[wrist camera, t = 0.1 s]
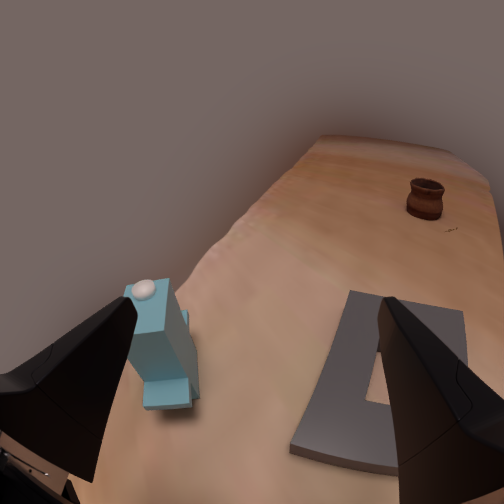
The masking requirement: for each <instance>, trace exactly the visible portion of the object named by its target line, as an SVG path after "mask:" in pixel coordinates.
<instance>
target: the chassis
mask: <svg viewBox="0 0 504 504" xmlns="http://www.w3.org/2000/svg"><path fill="white" fill-rule="evenodd" d="M383 298H384V297H383V296H378V295H372V294H367V293H362V292H357V291H352V290H350V292H349V295H348V298H347V302H346V305H345V308H344V311H343V314H342V317H341V320H340V323H339V326H338V329H337V332H336V335H335V338H334V341H333V344H332V346H331V349H330V352H329V355H328V357H327V360H326V363H325V365H324V368H323V370H322V373H321V375H320V378H319V380H318V383H317V385H316V388H315V390H314V392H313V395H312V397H311V399H310V402H309V404H308V406H307V408H306V411H305V413H304V415H303V417H302V419H301V422H300V424H299V426H298V428H297V430H296V432H295V434H294V436H293V438H292V440H291V442H290V452H289V453H292V454H295V455H298V456H302V457H305V458H309V459H312V460H316V461H319V462H323V463H327V464H331V465H335V466H339V467H344V468H349V469H354V470H359V471H364V472H370V473H376V474H383V475H391V476H398V462H397V451H396V442H395V434H394V426H393V419H392V412H391V406H390V405H386V404H381V403H376V402H371V401H366V400H365V397H366V393H367V389H368V386H369V382H370V378H371V374H372V370H373V365H374V361H375V356H376V352H377V351H378V352H381V347H380V338H379V330H378V322H377V316H378V312H379V308H380V304H381V301H382V299H383ZM399 301H400V302H401V303H402V304H403V305H404V306H405V307H406V308H408V309H409V310H410V311H411V312H412V313H413V314H414V315H415V316H416V317H417V318H418V319H419V320H421V321H422V322H423V323H424V324H425V325H426V326H427V327H428V328H429V329H430V330H431V331H432V332H433V333H434V334H435V335H436V336H437V337H438V338H439V339H440V340H441V341H442V342H444V343H445V344H446V345H447V346H448V347H449V348H450V349H451V350H452V351H453V352H454V353H455V354H456V355H457V356H458V358H459V359H461V360H462V361H463V362H464V363H465V365H466V366H467V367H468V359H467V344H466V333H465V324H464V317H463V311H459V310H453V309H448V308H442V307H437V306H431V305H425V304H420V303H415V302H409V301H404V300H399Z"/></svg>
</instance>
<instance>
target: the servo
mask: <svg viewBox="0 0 504 504" xmlns="http://www.w3.org/2000/svg"><path fill="white" fill-rule="evenodd" d="M124 297H130V298H131V300H132V302H133V304H134V306H135V308H136V310H137V313H138V320H137V323H136V327H135V331H134V335H133V339H132V343H131V347H130V351H129V354H128V357H127V359H128V360H129V361H130V363H131V364H132V366H133V367H134V368H135V370H136V371H137V373H138V374H139V375H140V377H141V378H142V379H143V381H144V395H143V407H144V408H145V409H146V410H165V409H179V408H189V407H192V399H198V398H200V394H199V380H198V365H197V350H196V348H195V345H194V343H193V340H192V338H191V335H190V333H189V313H188V311H187V310H183V311H181V310H180V307H179V304H178V301H177V299H176V296H175V293H174V290H173V288H172V285H171V282H170V279H169V278H166V279H161V280H156V281H152V280H142V281H139V282H137V283H136V284H132V285H127V287H126V290H125V293H124Z"/></svg>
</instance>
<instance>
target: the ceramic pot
mask: <svg viewBox="0 0 504 504" xmlns="http://www.w3.org/2000/svg"><path fill="white" fill-rule="evenodd" d="M410 185H411V189H412V190H411V193H410V194H409V196H408V198H407V211H408V213H409V214H411V215H412V216H414V217H417V218H420V219H424V220H436V219H438V218H439V216H440V215H441V214H442V210H443V202H442V195H443V194H444V192H445V189H444V187H443V186H442V185H441V183H439V182H437V181H434V180H431V179H426V178H415V179H413V180H411V182H410ZM456 229H457V228H456ZM456 229H453V230H456ZM450 231H452V230H451V229H450ZM450 231H449V230H448V231H446V232H450Z"/></svg>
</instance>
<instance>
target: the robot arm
mask: <svg viewBox="0 0 504 504" xmlns="http://www.w3.org/2000/svg"><path fill="white" fill-rule="evenodd" d="M137 320H138V313H137V310H136V308H135V306H134V304H133V302H132V300H131V298H130V297H123V296H121V297H119V298H117V299H116V300H114V301H113V302H111V303H110V304H108V305H107V306H105V307H104V308H102V309H101V310H99V311H98V312H97V313H95V314H94V315H92V316H91V317H89V318H88V319H86V320H85V321H84V322H82V323H81V324H79V325H78V326H76V327H75V328H74V329H72V330H71V331H69V332H68V333H66V334H65V335H64V336H62V337H61V338H59V339H58V340H57V341H55V342H54V343H53V344H51V345H50V346H48V347H47V348H45V349H44V350H43V351H41V352H40V353H38V354H37V355H36V356H34V357H32V358H31V359H29V360H28V361H26V362H24V363H23V364H21V365H20V366H18V367H16V368H15V369H14V370H12V371H10V372H8V373H6V374H0V504H80V501H79V499H78V497H77V495H76V492H75V490H74V487H73V485H72V482H71V480H69V479H67V478H68V475H69V473H70V474H73V475H75V476H77V477H79V478H81V479H83V480H85V481H88V482H90V483H92V482H93V479H94V474H95V469H96V465H97V460H98V456H99V452H100V448H101V444H102V439H103V435H104V432H105V428H106V424H107V421H108V417H109V414H110V410H111V407H112V403H113V400H114V397H115V393H116V390H117V387H118V384H119V381H120V378H121V375H122V372H123V369H124V366H125V363H126V360H127V357H128V354H129V351H130V347H131V343H132V339H133V335H134V331H135V327H136V323H137ZM377 322H378V330H379V338H380V347H381V356H382V363H383V368H384V373H385V378H386V383H387V389H388V394H389V400H390V406H391V412H392V419H393V426H394V434H395V442H396V451H397V462H398V477H399V499H400V504H504V400H503V399H502V398H501V397H500V396H499V395H498V394H497V393H496V392H494V391H493V390H492V389H491V388H490V387H489V386H488V385H487V384H485V383H484V382H483V381H482V380H481V379H480V378H479V377H478V376H477V375H476V374H475V373H474V372H473V371H472V370H471V369H470V368H468V367H467V366H466V365H465V363H464V362H463V361H462V360H461V359H459V358H458V356H457V355H456V354H455V353H454V352H453V351H452V350H451V349H450V348H449V347H448V346H447V345H446V344H445V343H444V342H442V341H441V340H440V339H439V338H438V337H437V336H436V335H435V334H434V333H433V332H432V331H431V330H430V329H429V328H428V327H427V326H426V325H425V324H424V323H423V322H422V321H421V320H419V319H418V318H417V317H416V316H415V315H414V314H413V313H412V312H411V311H410V310H409V309H408V308H406V307H405V306H404V305H403V304H402V303H401V302H400V301H399V300H398V299H396V298H395V297H384V298H383V299H382V301H381V304H380V308H379V312H378V316H377Z"/></svg>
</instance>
